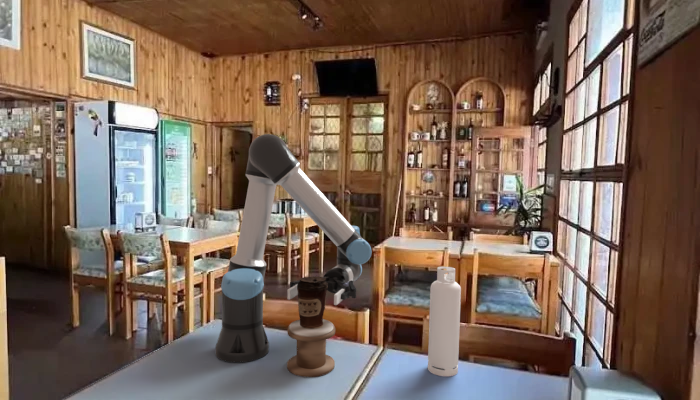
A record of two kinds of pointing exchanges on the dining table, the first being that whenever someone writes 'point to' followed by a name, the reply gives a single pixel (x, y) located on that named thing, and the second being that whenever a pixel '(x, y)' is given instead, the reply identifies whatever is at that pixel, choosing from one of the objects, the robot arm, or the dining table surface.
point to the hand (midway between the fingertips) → (311, 297)
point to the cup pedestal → (311, 350)
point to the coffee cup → (311, 301)
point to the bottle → (444, 323)
